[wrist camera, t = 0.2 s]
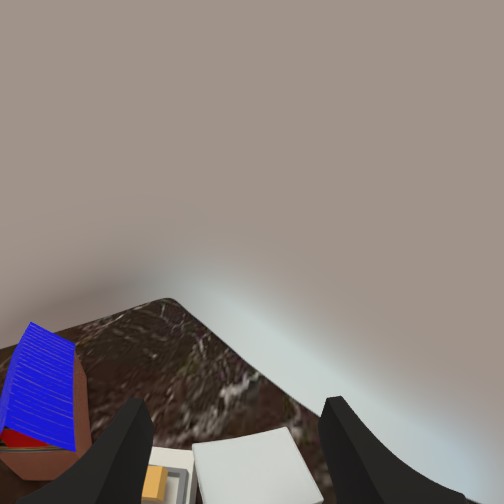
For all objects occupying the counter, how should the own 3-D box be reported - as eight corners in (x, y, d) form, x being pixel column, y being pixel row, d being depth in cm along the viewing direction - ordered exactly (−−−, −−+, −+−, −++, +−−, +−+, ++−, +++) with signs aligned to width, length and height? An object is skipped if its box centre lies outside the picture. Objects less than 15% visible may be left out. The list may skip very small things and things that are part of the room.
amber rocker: (163, 501, 16) (156, 497, 15) (104, 494, 16) (98, 489, 16) (168, 470, 19) (162, 466, 19) (112, 468, 20) (106, 463, 19)
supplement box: (302, 536, 16) (328, 502, 11) (225, 553, 14) (205, 531, 10) (279, 483, 22) (288, 423, 18) (210, 497, 21) (188, 442, 16)
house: (22, 482, 15) (-34, 424, 11) (29, 384, 32) (0, 326, 28) (101, 479, 20) (53, 422, 16) (88, 375, 37) (64, 315, 33)
